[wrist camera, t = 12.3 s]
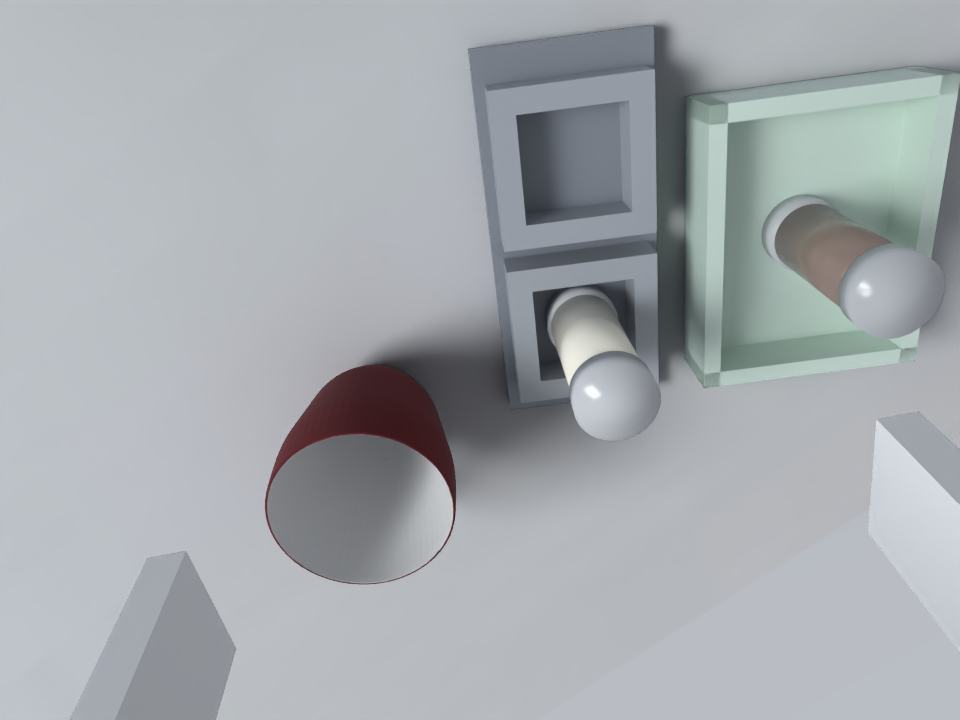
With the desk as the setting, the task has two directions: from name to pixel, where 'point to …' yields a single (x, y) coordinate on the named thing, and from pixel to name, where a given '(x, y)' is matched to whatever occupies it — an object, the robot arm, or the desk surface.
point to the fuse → (600, 365)
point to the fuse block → (568, 190)
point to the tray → (796, 171)
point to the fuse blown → (854, 266)
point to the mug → (364, 480)
